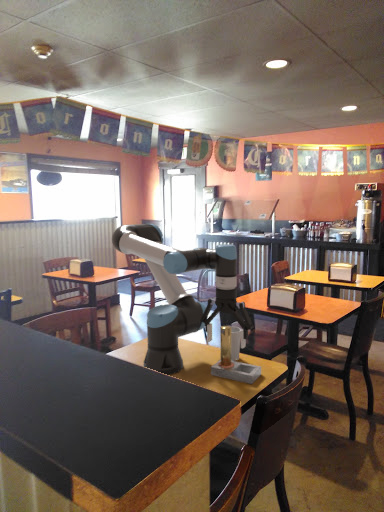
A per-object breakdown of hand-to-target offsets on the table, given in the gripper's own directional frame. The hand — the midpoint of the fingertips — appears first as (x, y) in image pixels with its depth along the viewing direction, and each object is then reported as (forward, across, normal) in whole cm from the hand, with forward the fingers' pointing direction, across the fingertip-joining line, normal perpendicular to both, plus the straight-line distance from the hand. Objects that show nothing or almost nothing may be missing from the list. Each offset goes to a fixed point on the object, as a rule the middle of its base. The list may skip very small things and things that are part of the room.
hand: (226, 344), depth 144 cm
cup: (+11, -4, +14) cm, 18 cm away
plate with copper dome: (+11, +4, 0) cm, 12 cm away
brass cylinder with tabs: (+8, 0, 0) cm, 8 cm away
